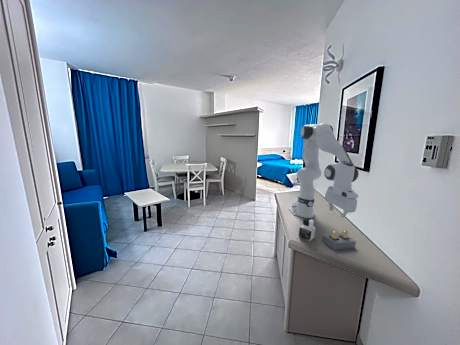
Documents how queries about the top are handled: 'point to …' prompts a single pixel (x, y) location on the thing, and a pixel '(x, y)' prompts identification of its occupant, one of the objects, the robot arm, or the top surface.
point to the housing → (339, 242)
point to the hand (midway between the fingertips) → (336, 213)
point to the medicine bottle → (307, 229)
